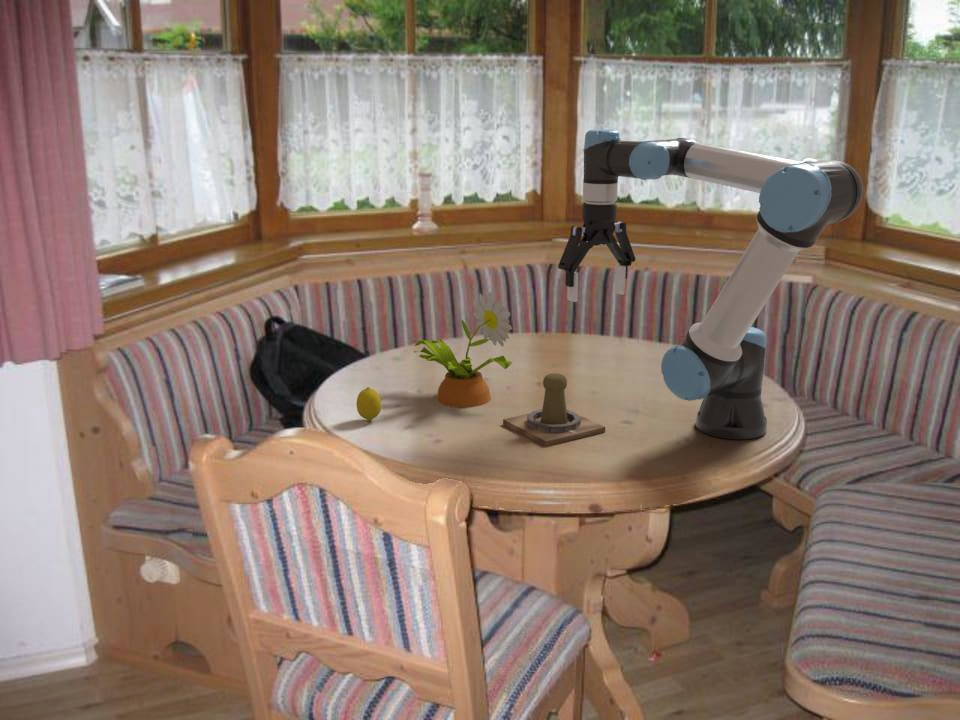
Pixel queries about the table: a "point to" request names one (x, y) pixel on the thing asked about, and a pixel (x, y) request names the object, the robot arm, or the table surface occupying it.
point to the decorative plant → (460, 379)
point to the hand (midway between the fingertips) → (596, 297)
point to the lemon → (368, 403)
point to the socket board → (553, 428)
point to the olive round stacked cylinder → (554, 400)
